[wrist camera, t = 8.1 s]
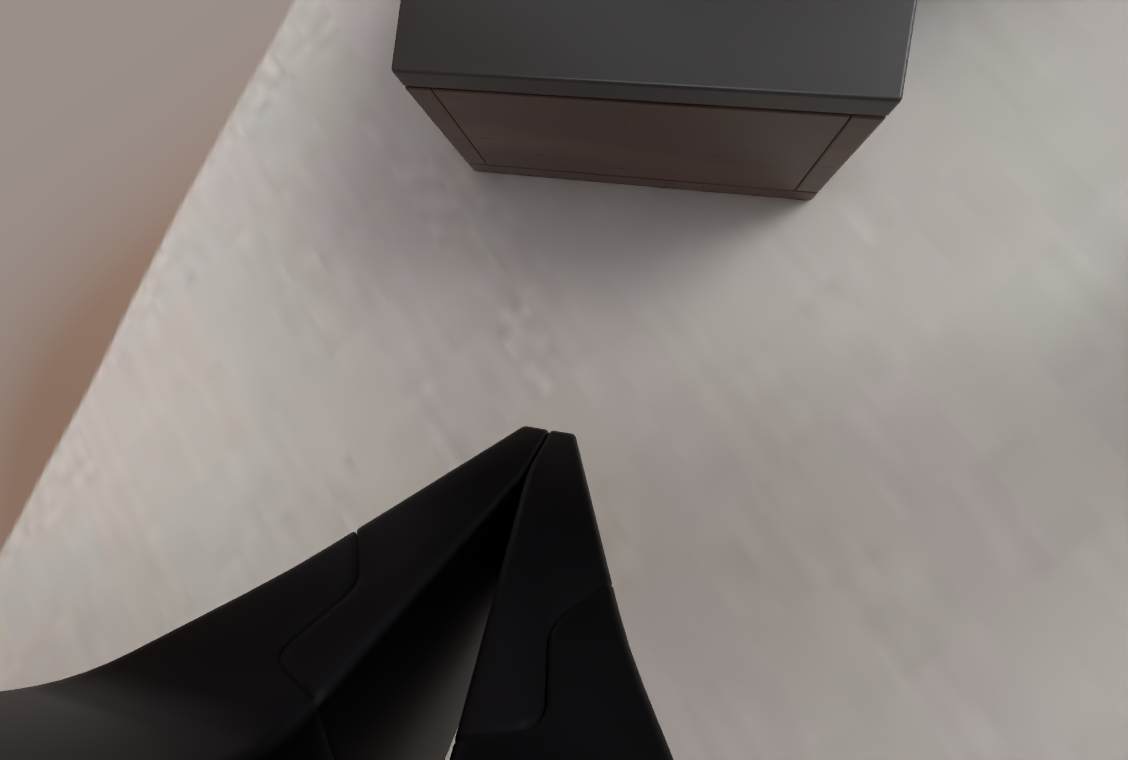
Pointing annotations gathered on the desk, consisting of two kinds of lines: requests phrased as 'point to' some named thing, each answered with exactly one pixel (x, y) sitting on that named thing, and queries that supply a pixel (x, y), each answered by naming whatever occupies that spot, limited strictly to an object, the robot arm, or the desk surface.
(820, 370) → the desk surface
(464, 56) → the dark grey flat tile
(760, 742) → the desk surface
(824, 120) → the wooden box
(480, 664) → the robot arm
